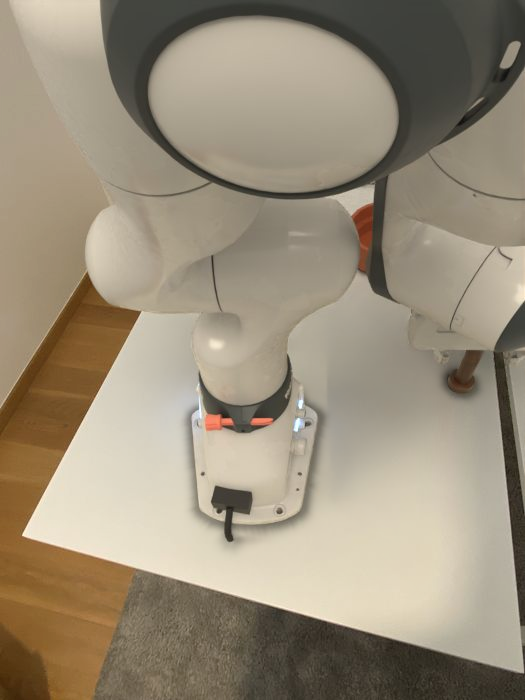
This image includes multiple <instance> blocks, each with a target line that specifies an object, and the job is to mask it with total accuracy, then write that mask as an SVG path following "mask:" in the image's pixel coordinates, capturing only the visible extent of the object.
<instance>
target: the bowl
mask: <svg viewBox="0 0 525 700" xmlns="http://www.w3.org/2000/svg"><path fill="white" fill-rule="evenodd" d="M350 216H351V217H352V219H353V221H354V223H355V226H356V228H357V231H358V235H359V240H360V260H359V265H358V269H359V270H360V271H363V272H364V273H366V268H365V261H366V257H367V253H368V250H369V246H370V243H371V240H372V222H373V202H371V203H366V204H365V205H363V206H361V207H359V208H357V209H356V211H354V212H353V214H351V215H350Z"/></svg>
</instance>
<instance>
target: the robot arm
mask: <svg viewBox="0 0 525 700" xmlns="http://www.w3.org/2000/svg"><path fill="white" fill-rule="evenodd" d="M8 4H9V8H10V11H11V14H12V16H13V18H14V22H15V24H16V26H17V29H18V32H19V34H20V37H21V39H22V42H23V44H24V47H25V49H26V52H27V54H28V56H29V59H30V61H31V63H32V66H33V67H34V71H35V72H36V74H37V76H38V78H39V80H40V83H41V86H42V87H43V89H44V91H45V94H46V95H47V98H48V99H49V101H50V104H51V105H52V107H53V109H54V111H55V113H56V115H57V117H58V118H59V120H60V122H61V124H62V125H63V127H64V129H65V130H66V132H67V134H68V136H69V137H70V139H71V140H72V142H73V143H74V146H75V147H76V148H77V149H78V151H79V152H80V155H82V157H83V159H84V160H85V162H86V164H88V166H89V168H90V169H91V170H92V172H93V173H94V175H95V176H96V178H97V179H98V181H99V182H100V184H101V185H102V187H103V188H104V190H105V191H106V193H107V195H108V197H110V199H111V201H112V202H113V204H111V205H110V206H108V207H106V208H104V209H102V210H100V212H99V213H98V214H97V215H96V217H95V218H94V220H93V221H92V223H91V225H90V227H89V229H88V233H87V235H86V240H85V245H84V261H85V268H86V271H87V274H88V277H89V279H90V281H91V283H92V285H93V287H94V289H95V290H96V292H97V293H98V294H99V296H100V297H101V298H102V299H104V301H105V302H106V303H107V304H109V305H111V306H112V307H116V308H121V309H127V310H132V311H137V312H143V313H148V314H149V313H150V314H156V315H157V314H158V315H179V314H199V315H198V317H197V319H196V320H195V322H194V324H193V326H192V330H191V333H190V334H191V336H190V337H191V338H190V347H191V351H192V353H193V356H194V360H195V363H196V366H197V368H198V373H197V374H198V384H197V386H196V387H195V389H196V390H195V391H196V393H197V395H198V402H199V403H198V404H199V408H198V409H197V410H195V411H194V412H193V413H192V414H191V418H190V419H191V430H192V431H191V433H192V443H193V454H194V466H195V477H196V489H197V490H196V491H197V500H198V507H199V509H200V511H201V512H202V513H203V514H205V515H206V516H208V517H210V518H212V519H214V520H217V521H220V522H222V523H223V522H224V527H223V532H224V533H223V534H224V537H225V539H226V542H228V543H232V542H233V541H234V535H233V533H232V524H234V525H249V526H250V525H251V526H252V525H267V524H268V525H269V524H273V523H278V522H281V521H284V520H287V519H289V518H292V517H293V516H296V515H297V514H298V513H300V512H301V511H302V507H303V504H304V500H305V499H304V498H305V493H306V487H307V483H308V478H309V472H310V466H311V462H312V461H311V460H312V455H313V450H314V444H315V440H316V434H317V428H318V423H319V417H318V412H317V411H315V410H314V409H313V408H312V407H310V406H308V405H307V404H305V391H304V390H305V389H304V385H302V383H301V382H300V381H298V380H297V379H296V378H295V377H294V374H293V373H294V372H293V366H292V362H291V358H290V356H289V353H288V341H289V336H290V335H291V333H292V332H293V330H294V329H295V328H296V327H297V326H298V325H299V324H300V323H301V322H302V321H304V320H305V319H306V318H307V317H308V316H310V315H312V314H313V313H315V312H316V311H318V310H320V309H322V308H324V307H326V306H329V305H331V304H334V303H335V302H338V301H339V300H340V299H341V298H342V297H343V296H344V295H345V294H346V292H347V291H349V290H348V289H349V288H350V287H351V285H352V284H353V281H354V280H355V278H356V276H357V272H358V269H359V268H358V265H359V260H360V240H359V235H358V231H357V228H356V226H355V223H354V221H353V219H352V217H351V216H352V215H351V214H350V213H349V211H348V210H347V209H346V208H345V206H344V205H343V204H342V203H341V202H340V201H339V200H337V199H335V198H330V197H333V196H337V195H340V194H344V193H347V192H350V191H352V190H353V191H354V190H356V189H358V188H361V187H364V186H367V185H369V184H372V183H374V189H373V190H374V191H373V202H372V203H373V222H372V240H371V243H370V246H369V250H368V253H367V257H366V261H365V268H366V272H365V273H366V279H367V281H368V284H369V286H370V288H371V290H372V292H373V293H374V294H375V295H378V296H379V297H383V298H384V299H387V300H389V301H391V302H394V303H396V304H399V305H402V306H404V307H406V308H408V309H410V315H409V319H408V321H407V326H406V334H407V335H406V337H407V343H408V345H409V346H410V347H411V348H412V349H414V350H432V352H433V354H434V361H435V364H436V365H437V364H438V365H439V364H448V362H449V360H450V354H449V351H466V350H485V351H491V352H492V351H493V352H494V353H504V360H506V361H505V363H506V365H512V366H519V365H520V364H521V362H522V360H523V359H525V0H8ZM374 181H375V182H374ZM307 424H309V425H307ZM218 510H221V512H220V513H218ZM279 510H281V511H282V512H281V513H278V512H277V511H279Z"/></svg>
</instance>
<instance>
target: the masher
mask: <svg viewBox="0 0 525 700" xmlns="http://www.w3.org/2000/svg"><path fill="white" fill-rule="evenodd" d="M485 351H486V350H464V353H463V356H462V358H461V360H460V362H459V365H458V367H457V368H455V369H453V370H452V371H451V372H450V374H449V376H448V378H447V385H448V387H449V389H450V390H451V391H452V392H454V393H457V394H461V395H462V394H463V395H464V394H468V393H469V392H471V391H472V389H473V387H474V385H475V383H476V378H475V376H474V374H475V372H476V369H477V367H478V366H479V364H480V361H481V359H482V357H483V355H484V353H485Z"/></svg>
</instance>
